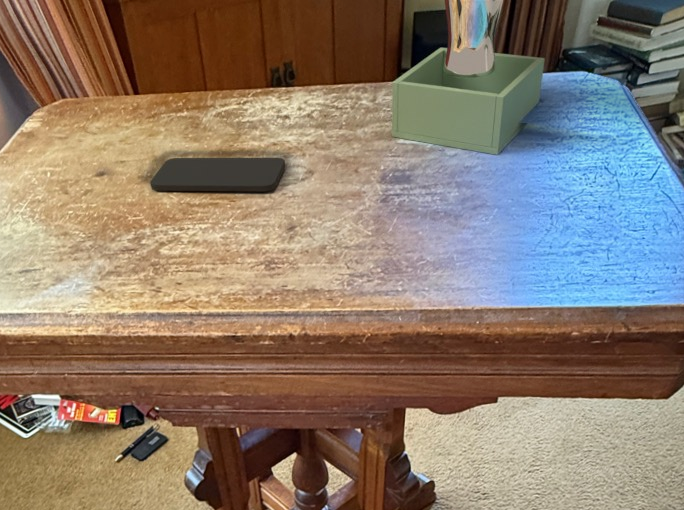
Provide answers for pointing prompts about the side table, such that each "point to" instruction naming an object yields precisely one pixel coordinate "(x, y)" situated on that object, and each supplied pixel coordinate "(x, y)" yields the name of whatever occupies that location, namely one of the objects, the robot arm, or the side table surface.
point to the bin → (466, 103)
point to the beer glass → (471, 37)
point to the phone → (218, 174)
